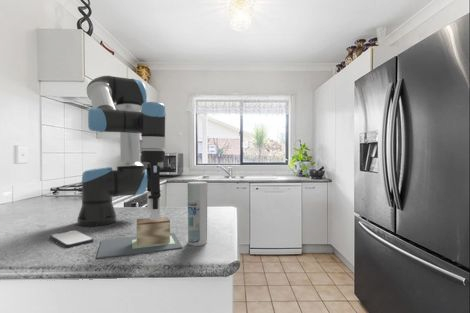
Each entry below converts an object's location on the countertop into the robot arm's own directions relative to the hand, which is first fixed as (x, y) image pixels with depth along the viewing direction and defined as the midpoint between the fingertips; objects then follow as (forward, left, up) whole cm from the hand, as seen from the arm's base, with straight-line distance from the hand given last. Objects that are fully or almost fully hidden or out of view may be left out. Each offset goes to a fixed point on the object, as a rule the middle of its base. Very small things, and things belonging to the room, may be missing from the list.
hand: (152, 214), depth 91 cm
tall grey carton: (+5, +14, -10) cm, 18 cm away
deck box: (0, 0, -9) cm, 9 cm away
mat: (0, -4, -9) cm, 10 cm away
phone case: (-13, -26, -10) cm, 31 cm away
